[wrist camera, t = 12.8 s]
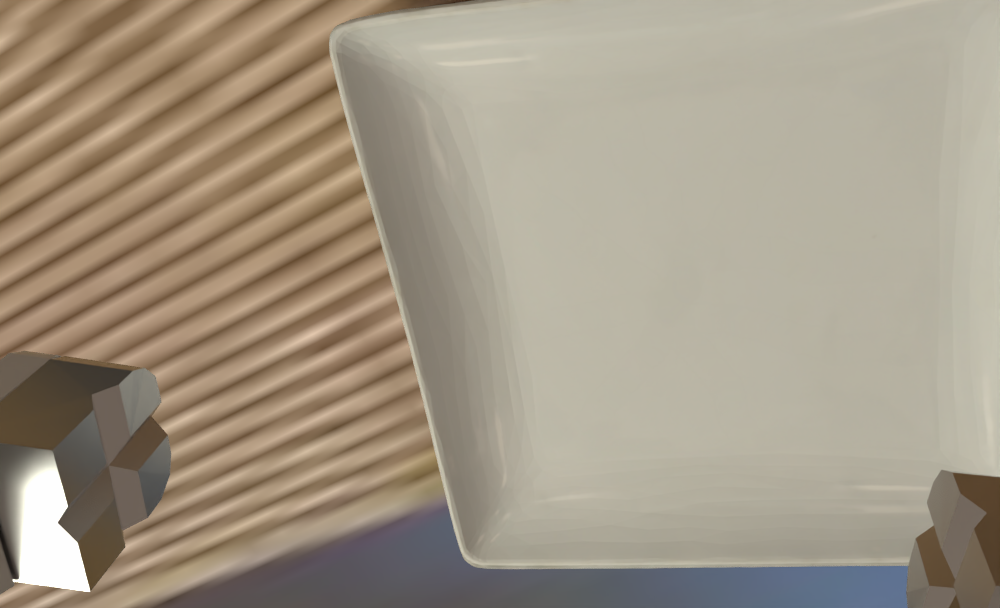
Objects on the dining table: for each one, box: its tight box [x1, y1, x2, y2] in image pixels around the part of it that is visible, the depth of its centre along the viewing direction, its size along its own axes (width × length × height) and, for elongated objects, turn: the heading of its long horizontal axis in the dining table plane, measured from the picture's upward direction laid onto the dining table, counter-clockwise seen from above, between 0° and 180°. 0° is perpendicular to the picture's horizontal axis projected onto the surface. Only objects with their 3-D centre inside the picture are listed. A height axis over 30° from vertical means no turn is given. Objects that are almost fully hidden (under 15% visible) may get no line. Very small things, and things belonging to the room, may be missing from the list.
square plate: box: [329, 0, 1000, 569], centre depth 39 cm, size 27×27×4 cm
